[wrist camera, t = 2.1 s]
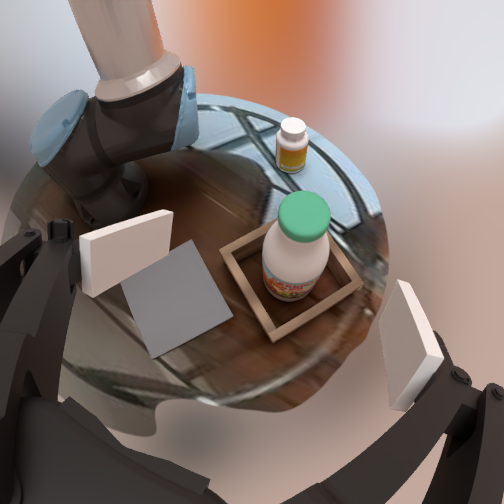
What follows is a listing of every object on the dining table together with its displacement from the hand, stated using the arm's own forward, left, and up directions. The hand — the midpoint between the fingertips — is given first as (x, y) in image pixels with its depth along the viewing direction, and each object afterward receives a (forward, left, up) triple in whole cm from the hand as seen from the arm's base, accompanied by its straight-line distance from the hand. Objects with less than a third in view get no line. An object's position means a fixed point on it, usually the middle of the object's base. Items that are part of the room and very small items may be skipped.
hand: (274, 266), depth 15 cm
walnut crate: (-5, +6, -27) cm, 28 cm away
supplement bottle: (-23, +18, -27) cm, 39 cm away
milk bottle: (-5, +6, -27) cm, 28 cm away
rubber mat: (-11, -11, -27) cm, 31 cm away
